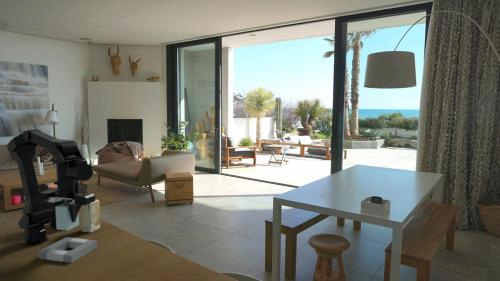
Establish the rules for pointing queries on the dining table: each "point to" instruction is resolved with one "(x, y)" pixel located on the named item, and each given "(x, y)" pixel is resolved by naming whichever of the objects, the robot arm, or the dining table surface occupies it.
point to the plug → (65, 217)
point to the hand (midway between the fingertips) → (67, 221)
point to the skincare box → (91, 216)
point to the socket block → (58, 254)
